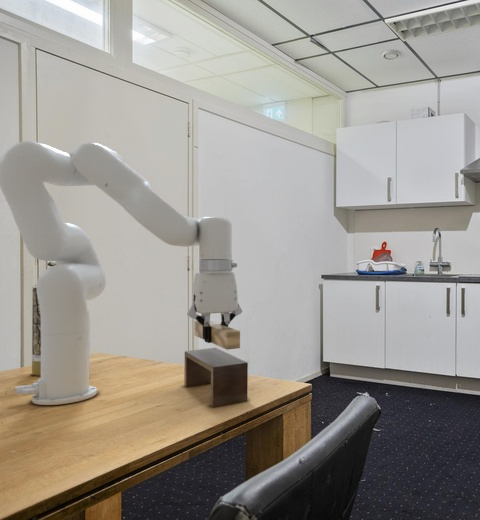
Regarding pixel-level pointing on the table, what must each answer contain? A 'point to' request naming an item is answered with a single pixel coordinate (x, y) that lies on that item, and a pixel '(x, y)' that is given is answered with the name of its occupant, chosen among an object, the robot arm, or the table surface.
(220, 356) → the dark brown channel bracket
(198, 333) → the stick
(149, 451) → the table surface
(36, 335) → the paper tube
